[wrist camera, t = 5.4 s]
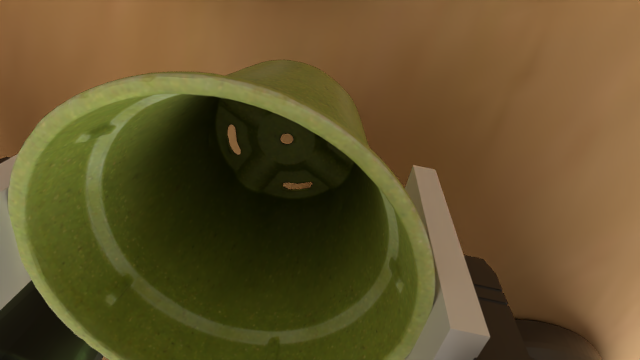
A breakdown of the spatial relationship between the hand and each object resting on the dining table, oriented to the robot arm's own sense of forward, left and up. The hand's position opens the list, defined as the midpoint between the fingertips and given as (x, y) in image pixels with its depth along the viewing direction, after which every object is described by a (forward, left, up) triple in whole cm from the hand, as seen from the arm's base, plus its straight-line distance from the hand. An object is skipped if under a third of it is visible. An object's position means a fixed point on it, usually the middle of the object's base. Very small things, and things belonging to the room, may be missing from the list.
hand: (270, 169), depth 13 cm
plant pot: (0, 0, -3) cm, 3 cm away
